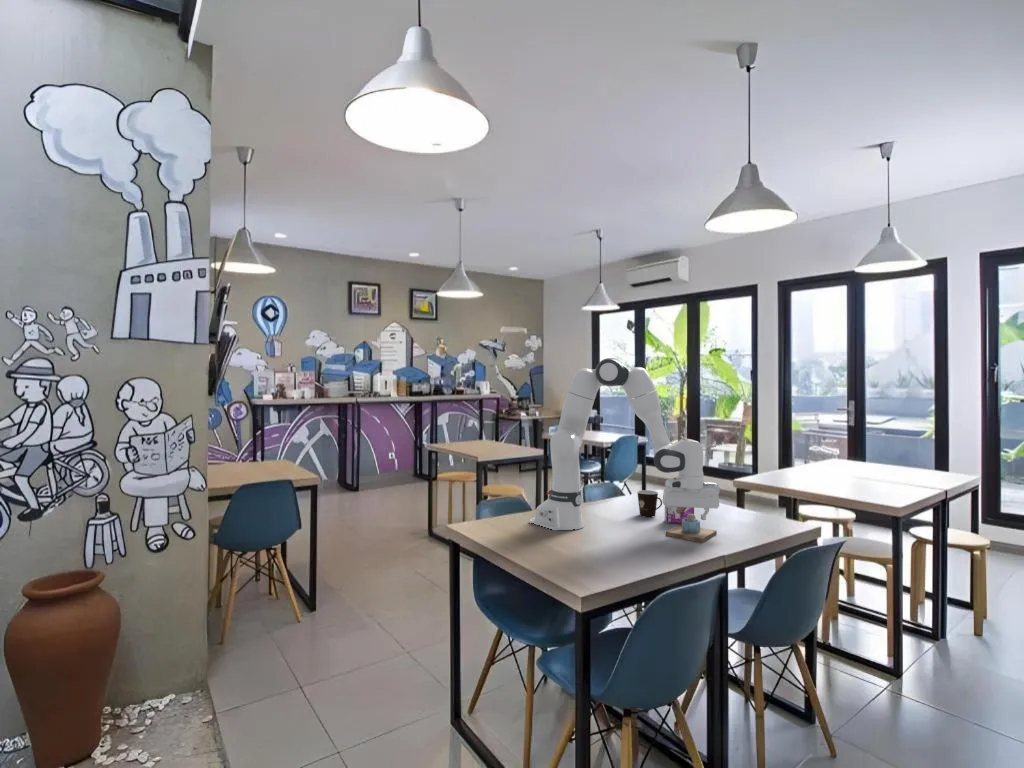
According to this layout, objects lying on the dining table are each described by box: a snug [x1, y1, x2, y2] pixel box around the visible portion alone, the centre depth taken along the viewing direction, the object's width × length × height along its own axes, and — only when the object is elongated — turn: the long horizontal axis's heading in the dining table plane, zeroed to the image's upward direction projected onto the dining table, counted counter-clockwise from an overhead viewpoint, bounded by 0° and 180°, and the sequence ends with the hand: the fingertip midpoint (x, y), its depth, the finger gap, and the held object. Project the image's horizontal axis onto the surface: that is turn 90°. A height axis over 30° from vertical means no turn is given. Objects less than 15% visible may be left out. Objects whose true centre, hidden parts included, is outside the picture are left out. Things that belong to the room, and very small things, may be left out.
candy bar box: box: [664, 480, 695, 524], centre depth 220 cm, size 11×5×16 cm, turn 84°
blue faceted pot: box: [681, 518, 701, 533], centre depth 201 cm, size 6×6×4 cm
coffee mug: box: [637, 489, 663, 518], centre depth 230 cm, size 12×9×10 cm
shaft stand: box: [665, 513, 718, 544], centre depth 201 cm, size 14×14×8 cm
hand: (690, 519), depth 201 cm, fingers open, 8 cm apart
